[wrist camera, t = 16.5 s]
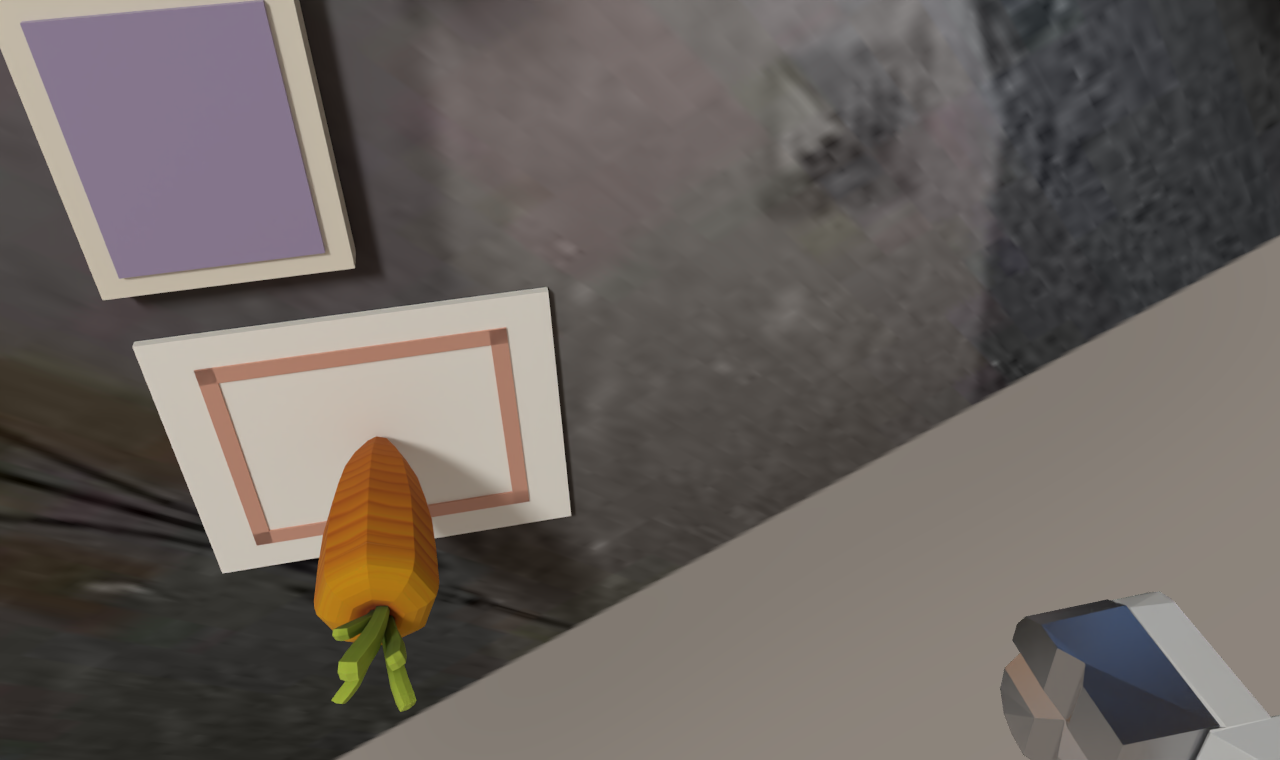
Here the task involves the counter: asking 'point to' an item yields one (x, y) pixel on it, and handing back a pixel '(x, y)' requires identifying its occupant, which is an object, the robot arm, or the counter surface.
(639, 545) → the counter surface
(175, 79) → the ink pad
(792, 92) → the counter surface
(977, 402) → the counter surface
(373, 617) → the carrot
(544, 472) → the print card
